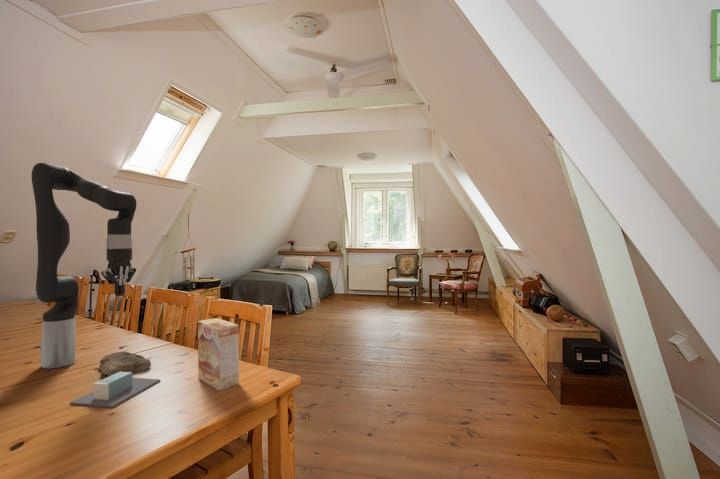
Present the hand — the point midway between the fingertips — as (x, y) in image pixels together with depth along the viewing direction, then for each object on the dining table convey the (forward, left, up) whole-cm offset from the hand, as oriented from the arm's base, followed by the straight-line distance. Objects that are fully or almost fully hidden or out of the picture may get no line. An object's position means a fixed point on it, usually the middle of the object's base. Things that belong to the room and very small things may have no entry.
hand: (119, 295), depth 122 cm
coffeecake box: (+40, -3, -27) cm, 48 cm away
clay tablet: (-2, +3, -28) cm, 28 cm away
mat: (+14, -15, -27) cm, 34 cm away
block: (+14, -12, -24) cm, 30 cm away
